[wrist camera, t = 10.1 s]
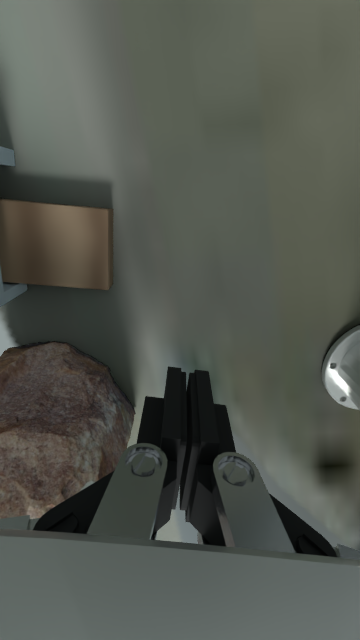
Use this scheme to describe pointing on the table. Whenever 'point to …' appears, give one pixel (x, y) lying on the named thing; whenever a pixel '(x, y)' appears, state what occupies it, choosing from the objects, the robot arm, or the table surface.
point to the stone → (56, 426)
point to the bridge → (3, 290)
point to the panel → (56, 244)
